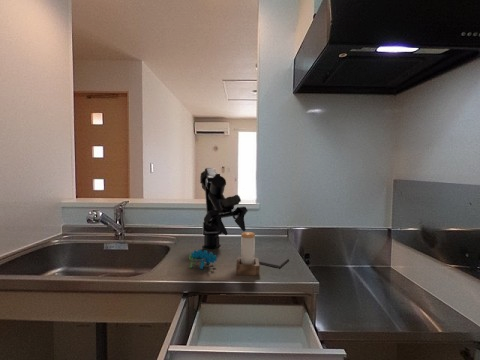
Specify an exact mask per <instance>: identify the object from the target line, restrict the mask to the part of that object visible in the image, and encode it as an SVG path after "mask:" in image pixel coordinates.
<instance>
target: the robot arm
mask: <svg viewBox="0 0 480 360" xmlns="http://www.w3.org/2000/svg"><path fill="white" fill-rule="evenodd" d="M199 178H200V180H199V183H200V184H201V189H203V191H204V194H205V207H206V210H205V211H206V214H205V216H204V218H203V222H202V228H201V230H202V231H201V232H202V235H203V236H204V237H203V239H204V241H203V242H204V244H203V245H202V248H206V249H211V250H214V249H217V248H219V247H221V244H220V236H219V235H221V234H223V235H225V236H227V235H228V231H227V229H226V227H225V225H224V223H223V221H222V219H223V218H229V217H230V218H231V217H232V218H233V219H234V222H235V224H236V225H238V227H239V229H240V230H241V231H243V232H246V224H245V216H246V214H247V212H248V211H249V210H248V209H247V207H246V206H238V205H239V204H240V203H241V202H242V200H241V197H240V195H239V194H234V195H232V196H227V197H225V196H224V192H225V188H226V185H227V180H226V178H225V177H223V176H221V173H217V172H216V168H214V167H205V168H204V171H202V172H200V177H199ZM236 205H237V207H236V209H235V206H236ZM234 209H235V210H234Z"/></svg>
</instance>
